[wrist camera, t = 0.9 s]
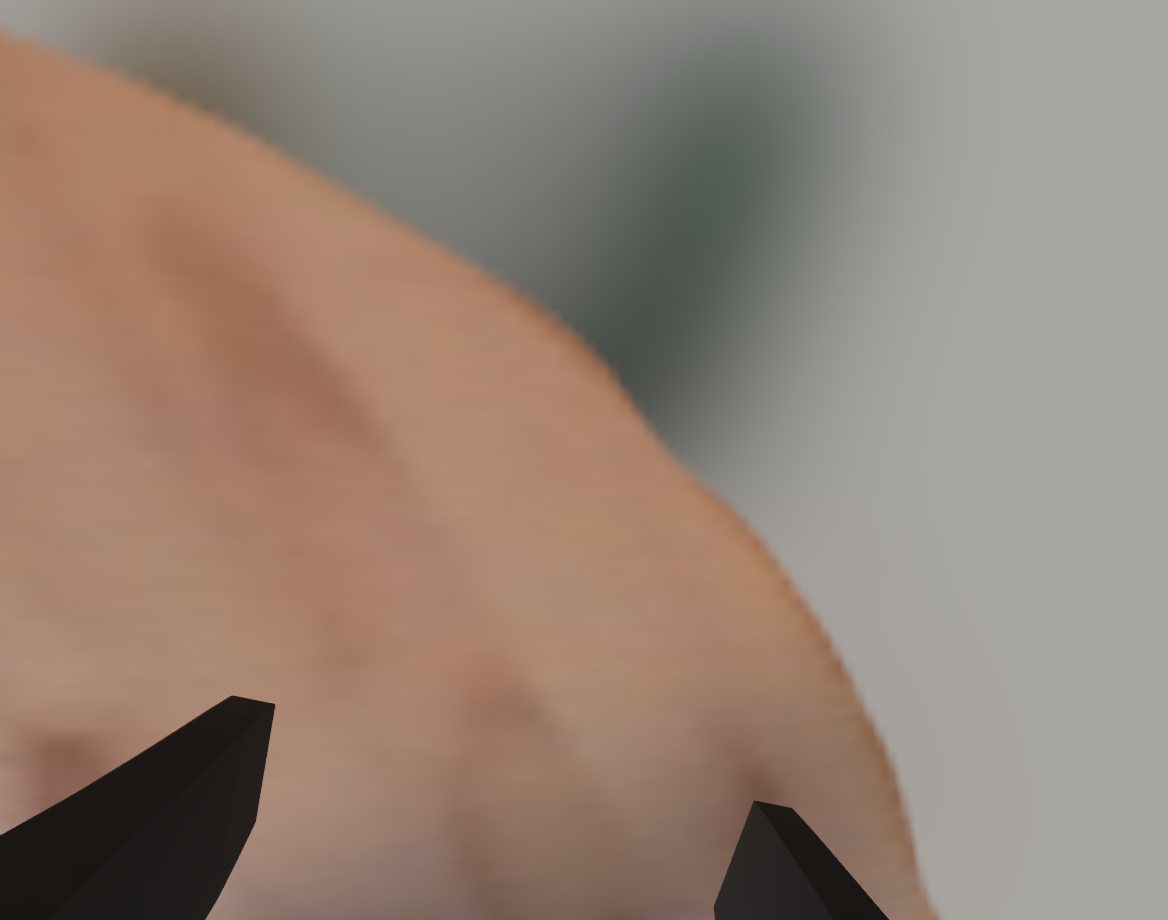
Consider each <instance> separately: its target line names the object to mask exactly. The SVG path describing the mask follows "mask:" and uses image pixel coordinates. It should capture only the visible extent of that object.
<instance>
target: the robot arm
mask: <svg viewBox="0 0 1168 920" xmlns="http://www.w3.org/2000/svg"><path fill="white" fill-rule="evenodd" d="M274 710H275V704H272V703H267V702H262V701H257V700H252V699H247V698H242V697H237V696H230V697H229V698H227V699H225V700H223V701H222V702H220V703H219V704H217V705H215V706H214V707H212V708H211V709H209V710H207V711H206V712H204V713H203V714H201V715H200V716H198V717H196V718H195V719H193V720H192V721H190V722H189V723H187V724H186V725H184V726H182V727H181V728H179V729H178V730H176V731H175V732H173V733H172V734H170V735H168V736H167V737H165V738H164V739H162V740H161V741H159V742H157V743H156V744H154V745H153V746H151V747H150V748H148V749H146V750H145V751H143V752H142V753H140V754H139V755H137V756H135V757H134V758H132V759H130V760H129V761H127V762H126V763H124V764H122V765H121V766H119V767H117V768H116V769H114V770H112V771H111V772H109V773H107V774H106V775H104V776H103V777H101V778H99V779H98V780H96V781H94V782H93V783H91V784H89V785H88V786H86V787H85V788H83V789H81V790H80V791H78V792H76V793H74V794H73V795H71V796H69V797H68V798H66V799H64V800H63V801H61V802H59V803H57V804H55V805H54V806H52V807H50V808H48V809H47V810H45V811H43V812H41V813H39V814H38V815H36V816H34V817H32V818H31V819H29V820H27V821H25V822H23V823H22V824H20V825H18V826H16V827H14V828H13V829H11V830H9V831H7V832H6V833H4V834H2V835H0V920H205V919H206V917H207V916H208V914H209V912H210V911H211V909H212V907H213V906H214V904H215V903H216V901H217V899H218V897H219V895H220V893H221V891H222V890H223V888H224V886H225V884H226V882H227V880H228V878H229V876H230V874H231V872H232V870H233V868H234V866H235V864H236V862H237V860H238V858H239V855H240V853H241V851H242V849H243V847H244V845H245V843H246V841H247V839H248V837H249V835H250V833H251V831H252V829H253V827H254V824H255V822H256V817H257V811H258V805H259V799H260V793H261V787H262V781H263V775H264V769H265V763H266V757H267V751H268V745H269V739H270V733H271V727H272V721H273V715H274ZM714 913H715V920H889V919H888V918H887V917H886V915H885V914H884V913H883V912H882V911H881V910H880V909H879V907H878V906H877V905H876V904H875V903H874V902H873V900H872V899H871V898H870V897H869V896H868V895H867V893H866V892H865V891H864V890H863V889H862V888H861V886H860V885H859V884H858V883H857V882H856V881H855V879H854V878H853V877H852V876H851V875H850V874H849V872H848V871H847V870H846V869H845V868H844V866H843V865H842V864H841V863H840V862H839V861H838V859H837V858H836V857H835V856H834V855H833V854H832V852H831V851H830V850H829V849H828V848H827V847H826V845H825V844H824V843H823V842H822V841H821V840H820V839H819V837H818V836H817V835H816V834H815V833H814V832H813V831H812V829H811V828H810V827H809V826H808V825H807V824H806V823H805V822H804V820H803V819H802V818H801V817H800V816H799V815H798V814H797V813H796V812H795V811H794V810H793V809H792V808H789V807H784V806H779V805H774V804H769V803H764V802H759V801H754V802H753V804H752V807H751V810H750V812H749V815H748V818H747V820H746V823H745V826H744V828H743V831H742V834H741V836H740V839H739V841H738V844H737V847H736V849H735V852H734V855H733V857H732V860H731V863H730V865H729V868H728V871H727V873H726V876H725V878H724V881H723V884H722V886H721V889H720V892H719V894H718V897H717V900H716V902H715V905H714Z"/></svg>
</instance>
